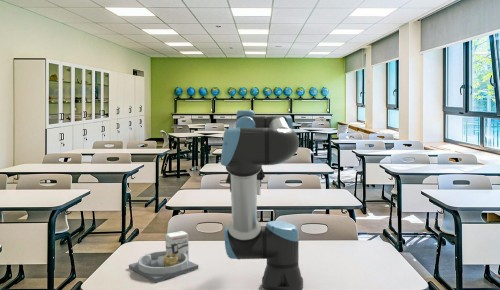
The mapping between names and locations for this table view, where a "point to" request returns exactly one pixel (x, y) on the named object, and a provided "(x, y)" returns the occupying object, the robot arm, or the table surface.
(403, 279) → the table surface
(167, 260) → the tan hollow cylinder
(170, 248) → the ink box
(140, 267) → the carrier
